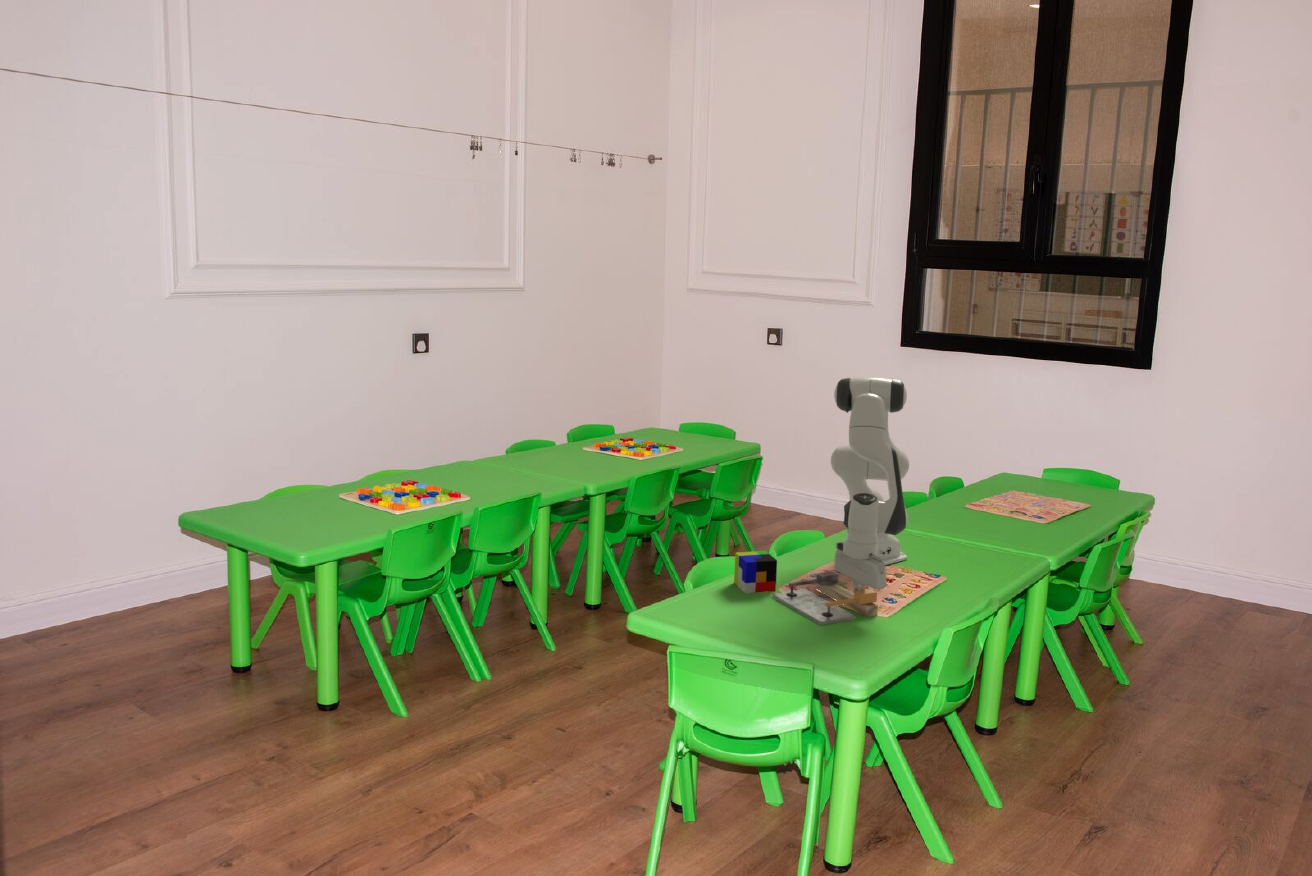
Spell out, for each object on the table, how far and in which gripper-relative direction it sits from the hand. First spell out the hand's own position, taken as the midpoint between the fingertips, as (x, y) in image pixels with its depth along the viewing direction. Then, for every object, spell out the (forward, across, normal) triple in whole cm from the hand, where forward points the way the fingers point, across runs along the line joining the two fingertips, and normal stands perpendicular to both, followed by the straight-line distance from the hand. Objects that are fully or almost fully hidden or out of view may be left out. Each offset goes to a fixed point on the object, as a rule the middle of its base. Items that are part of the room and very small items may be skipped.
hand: (858, 594), depth 307 cm
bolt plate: (+4, +6, +12) cm, 14 cm away
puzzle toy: (+5, +28, +18) cm, 34 cm away
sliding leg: (+3, -3, +5) cm, 7 cm away
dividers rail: (+5, +6, +5) cm, 9 cm away
